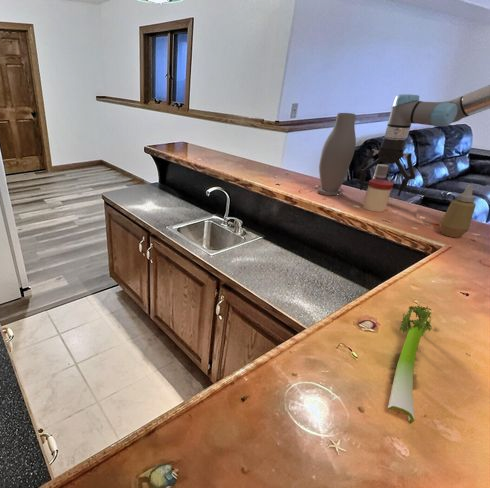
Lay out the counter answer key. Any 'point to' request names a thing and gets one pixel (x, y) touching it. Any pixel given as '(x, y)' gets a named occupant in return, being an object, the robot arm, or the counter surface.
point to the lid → (380, 184)
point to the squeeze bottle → (459, 214)
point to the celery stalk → (408, 361)
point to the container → (381, 171)
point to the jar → (376, 199)
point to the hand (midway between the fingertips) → (379, 192)
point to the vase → (337, 154)
